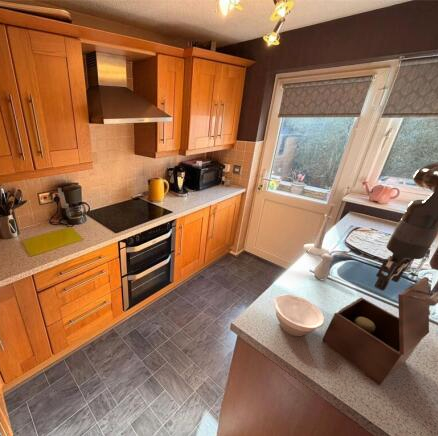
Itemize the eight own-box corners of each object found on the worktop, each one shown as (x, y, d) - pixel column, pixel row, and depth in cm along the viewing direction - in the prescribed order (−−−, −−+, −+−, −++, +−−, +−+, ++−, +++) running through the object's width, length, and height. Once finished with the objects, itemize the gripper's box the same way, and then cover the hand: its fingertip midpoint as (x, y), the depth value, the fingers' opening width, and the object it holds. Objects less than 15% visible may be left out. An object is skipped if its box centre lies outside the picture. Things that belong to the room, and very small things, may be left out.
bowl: (321, 326, 88) (328, 309, 85) (311, 354, 78) (319, 336, 75) (276, 304, 99) (281, 288, 95) (262, 326, 88) (267, 309, 85)
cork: (369, 353, 77) (383, 330, 73) (347, 348, 79) (359, 325, 75) (360, 338, 83) (373, 316, 78) (340, 333, 84) (351, 311, 80)
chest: (321, 340, 83) (334, 312, 77) (347, 324, 89) (361, 297, 83) (379, 385, 69) (401, 355, 63) (405, 362, 76) (426, 332, 70)
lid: (398, 294, 62) (427, 301, 57) (424, 276, 68) (452, 281, 63) (399, 353, 63) (427, 365, 59) (425, 331, 70) (452, 340, 65)
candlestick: (302, 243, 145) (317, 198, 133) (327, 248, 140) (345, 201, 127) (304, 252, 135) (320, 205, 122) (331, 258, 129) (350, 209, 117)
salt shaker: (329, 279, 113) (338, 257, 108) (320, 282, 111) (329, 259, 106) (318, 272, 118) (326, 251, 113) (309, 274, 117) (317, 253, 111)
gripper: (419, 250, 57) (390, 300, 64) (442, 238, 63) (413, 285, 70) (381, 237, 63) (359, 283, 70) (405, 227, 69) (382, 271, 76)
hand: (386, 284), depth 70 cm, fingers open, 8 cm apart
